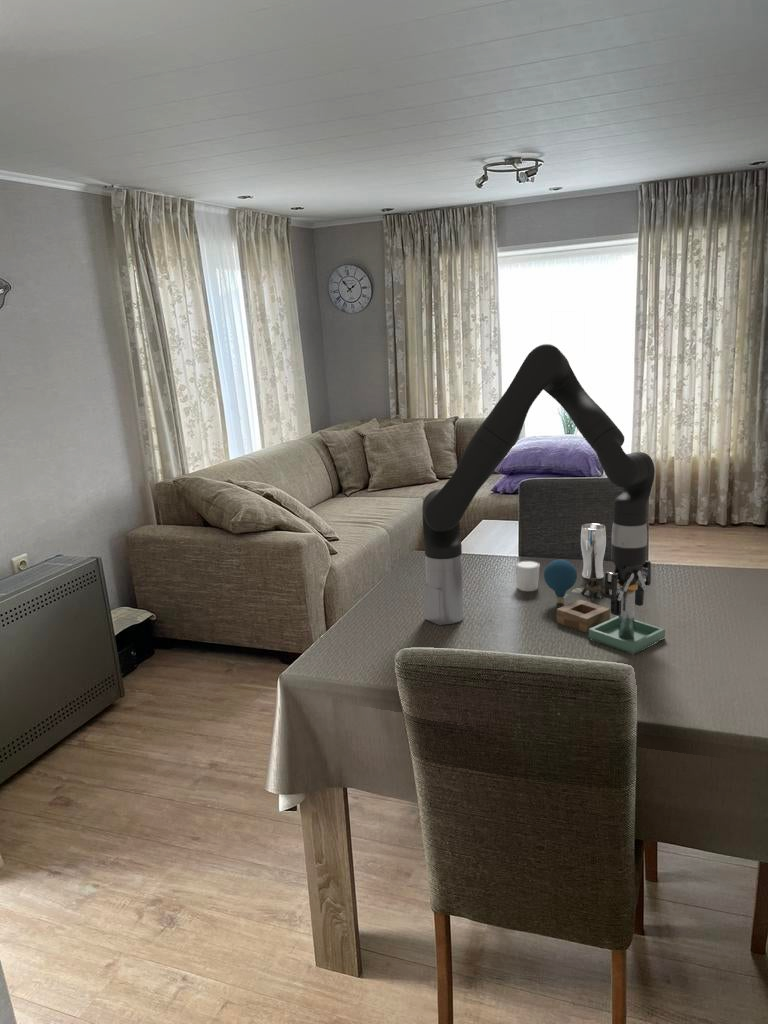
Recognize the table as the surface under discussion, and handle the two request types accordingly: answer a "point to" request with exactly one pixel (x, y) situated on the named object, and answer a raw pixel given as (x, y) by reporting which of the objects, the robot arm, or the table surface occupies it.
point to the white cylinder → (527, 575)
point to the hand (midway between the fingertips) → (627, 609)
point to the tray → (609, 636)
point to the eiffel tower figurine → (590, 586)
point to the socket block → (582, 615)
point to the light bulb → (560, 577)
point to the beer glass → (593, 548)
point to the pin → (627, 613)
